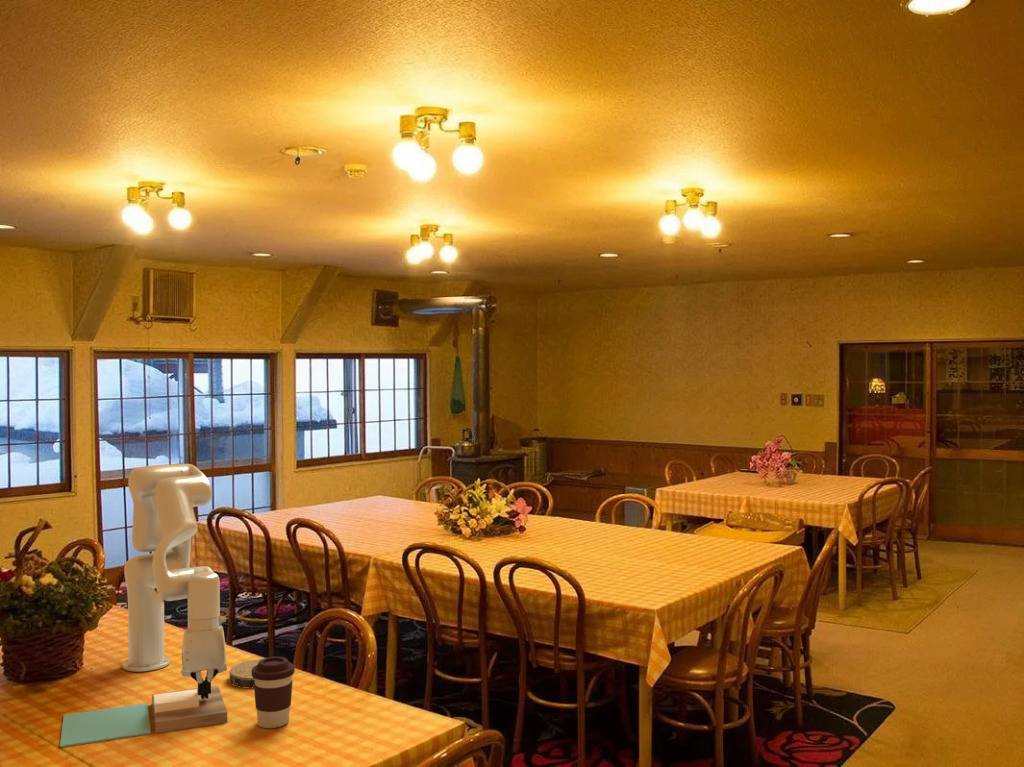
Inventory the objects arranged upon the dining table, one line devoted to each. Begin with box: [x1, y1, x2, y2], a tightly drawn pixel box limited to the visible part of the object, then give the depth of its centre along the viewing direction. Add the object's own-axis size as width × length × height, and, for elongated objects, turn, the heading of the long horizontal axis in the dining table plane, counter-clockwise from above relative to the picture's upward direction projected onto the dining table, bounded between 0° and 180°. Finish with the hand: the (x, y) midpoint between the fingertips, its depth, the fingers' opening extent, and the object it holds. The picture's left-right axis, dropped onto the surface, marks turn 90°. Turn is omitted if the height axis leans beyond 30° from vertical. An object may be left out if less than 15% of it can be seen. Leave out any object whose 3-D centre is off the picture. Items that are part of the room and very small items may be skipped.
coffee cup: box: [252, 656, 296, 729], centre depth 218 cm, size 10×10×15 cm
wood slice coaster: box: [229, 658, 263, 689], centre depth 250 cm, size 16×16×3 cm
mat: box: [59, 702, 152, 748], centre depth 217 cm, size 20×19×1 cm
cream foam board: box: [154, 688, 199, 713], centre depth 223 cm, size 7×10×2 cm
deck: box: [151, 684, 228, 734], centre depth 224 cm, size 20×16×2 cm
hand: (204, 696), depth 226 cm, fingers closed
